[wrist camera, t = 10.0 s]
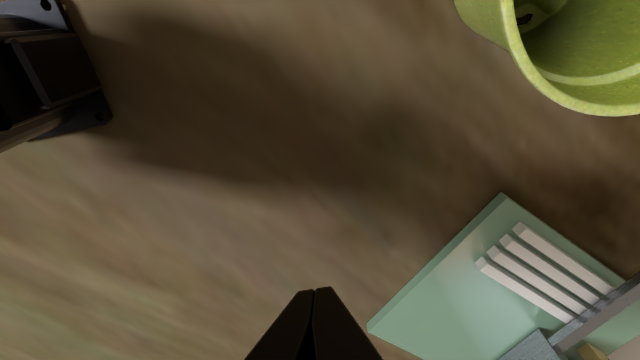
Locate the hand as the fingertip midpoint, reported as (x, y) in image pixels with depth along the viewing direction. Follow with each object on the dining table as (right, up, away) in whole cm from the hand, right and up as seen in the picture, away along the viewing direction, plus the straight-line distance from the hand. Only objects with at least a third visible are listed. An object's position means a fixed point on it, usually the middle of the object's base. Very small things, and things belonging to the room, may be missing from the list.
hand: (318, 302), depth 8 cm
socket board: (+15, -7, +18) cm, 25 cm away
